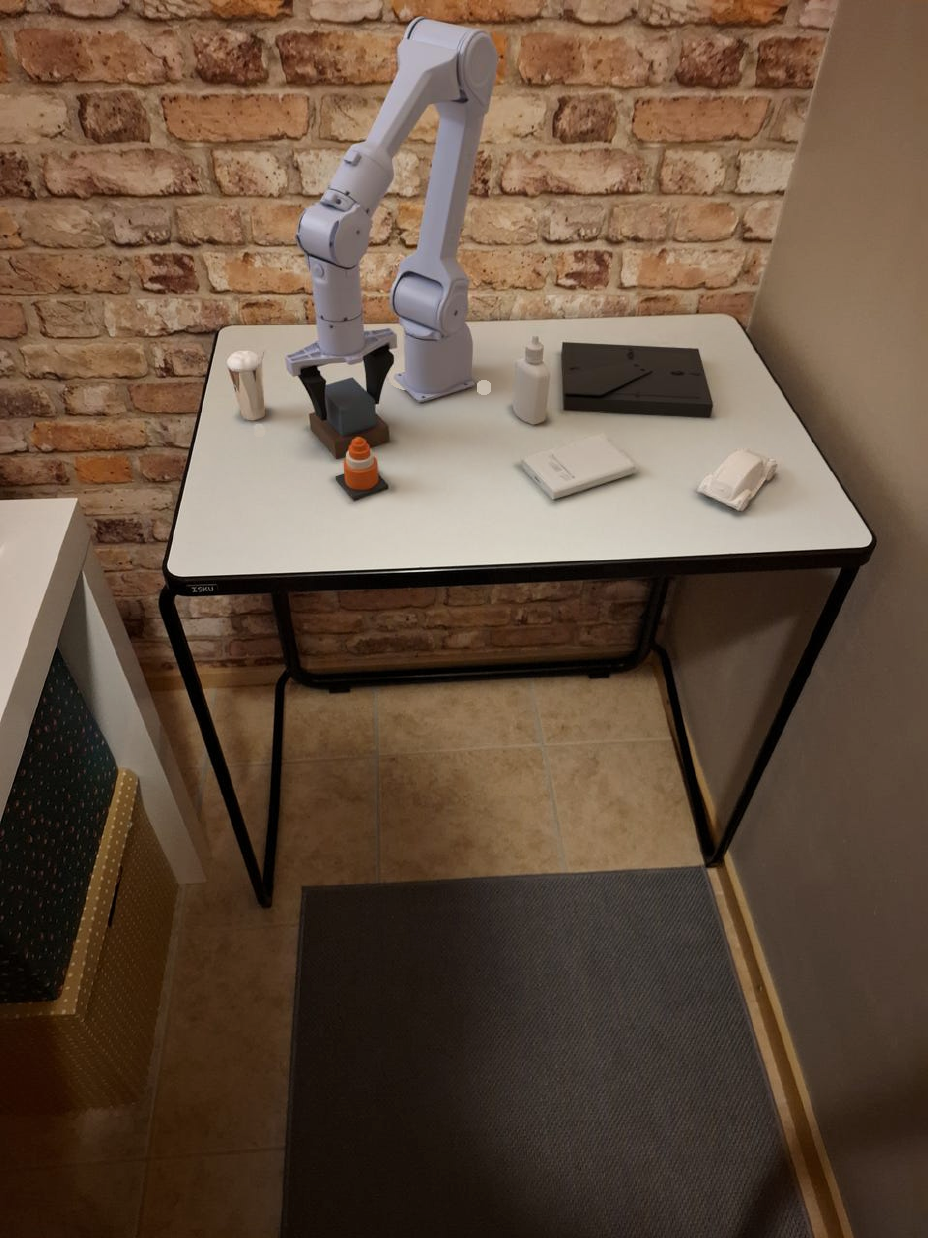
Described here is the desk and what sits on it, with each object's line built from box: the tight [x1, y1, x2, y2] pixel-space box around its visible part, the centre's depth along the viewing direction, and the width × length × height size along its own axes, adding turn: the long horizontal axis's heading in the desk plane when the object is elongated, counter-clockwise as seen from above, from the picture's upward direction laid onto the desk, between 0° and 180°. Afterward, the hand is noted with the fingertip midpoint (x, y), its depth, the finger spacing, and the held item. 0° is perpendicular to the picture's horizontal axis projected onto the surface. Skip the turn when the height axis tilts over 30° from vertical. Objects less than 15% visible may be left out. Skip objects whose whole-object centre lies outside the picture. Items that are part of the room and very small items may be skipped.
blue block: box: [325, 377, 377, 437], centre depth 113 cm, size 5×6×4 cm
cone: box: [335, 437, 390, 501], centre depth 106 cm, size 5×5×7 cm
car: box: [696, 447, 779, 512], centre depth 108 cm, size 12×6×5 cm, turn 140°
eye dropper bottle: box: [511, 333, 551, 425], centre depth 116 cm, size 4×6×12 cm
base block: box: [308, 411, 391, 460], centre depth 115 cm, size 8×8×2 cm
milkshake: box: [226, 350, 266, 421], centre depth 116 cm, size 4×5×10 cm
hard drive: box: [520, 433, 637, 500], centre depth 111 cm, size 2×8×12 cm
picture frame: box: [560, 341, 714, 418], centre depth 126 cm, size 16×3×21 cm
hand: (347, 408), depth 113 cm, fingers open, 7 cm apart
